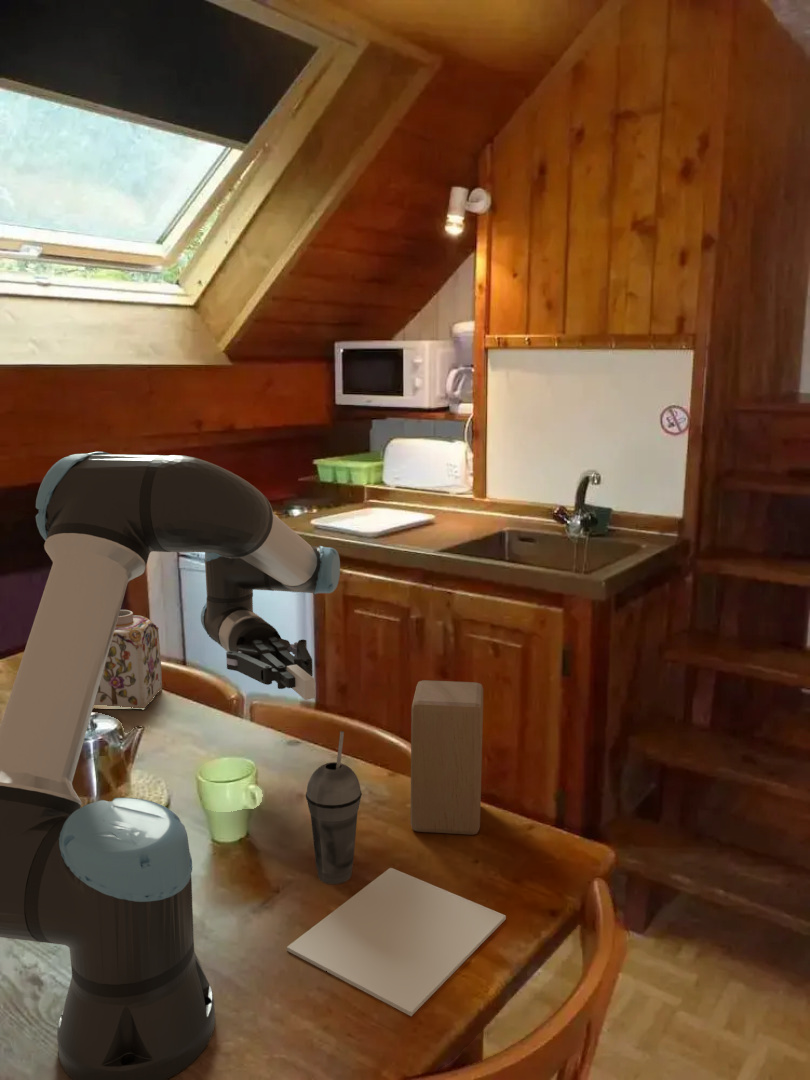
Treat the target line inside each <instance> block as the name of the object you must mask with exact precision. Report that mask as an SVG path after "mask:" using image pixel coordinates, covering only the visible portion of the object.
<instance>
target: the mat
mask: <svg viewBox="0 0 810 1080" xmlns="http://www.w3.org/2000/svg"><path fill="white" fill-rule="evenodd" d="M506 918H507V916H506V915H505V914H503V913H500V912H498V911H495V910H494V909H492V908H488V907H486V906H483V905H482V904H479V903H477V902H475V901H472V900H469V899H468V898H465V897H463V896H460V895H458V894H455V893H452V892H450V891H448V890H446V889H444V888H440V887H438V886H436V885H434V884H431V883H429V882H427V881H424V880H422V879H419V878H417V877H414V876H412V875H410V874H407V873H405V872H403V871H400V870H397V869H395V868H393V867H389V868H388V869H387V870H385V871H384V872H383V873H381V874H380V875H379V876H378V877H376V878H375V879H373V880H372V881H371V882H370V883H368V884H367V885H365V886H364V887H362V889H360V890H359V891H358V892H357V893H355V894H354V895H353V896H351V897H350V898H349V899H347V900H346V901H344V902H343V903H342V904H341V905H339V906H338V907H337V908H336V909H335V910H333V911H332V912H331V913H329V914H328V915H327V916H325V917H324V918H323V919H321V920H320V921H319V922H317V923H316V924H315V925H314V926H312V927H311V928H309V930H307V931H306V932H304V933H303V934H301V936H299V937H298V938H296V939H295V940H294V941H292V942H291V943H289V945H287V946H286V951H287V952H288V953H291V954H292V955H294V956H296V957H298V958H300V959H302V960H304V961H306V962H308V963H309V964H311V965H313V966H315V967H317V968H319V969H320V970H323V971H324V972H326V971H327V972H326V973H328V974H331V975H332V976H334V977H336V978H337V979H340V980H341V981H344V982H345V983H347V984H349V985H351V986H353V987H354V988H356V989H358V990H360V991H362V992H364V993H366V994H368V995H370V996H372V997H373V998H375V999H377V1000H379V1001H381V1002H383V1003H385V1004H387V1005H388V1006H391V1007H393V1008H395V1009H397V1010H398V1011H400V1012H402V1013H404V1014H406V1015H408V1016H410V1017H413V1015H414V1014H415V1013H416V1012H417V1011H418V1010H419V1009H420V1008H421V1007H422V1006H423V1005H424V1004H425V1003H426V1002H427V1001H428V1000H429V999H430V997H432V996H433V995H434V993H435V992H436V991H438V990H439V988H441V987H442V986H443V984H444V983H445V982H446V981H447V980H448V979H449V978H450V977H451V976H452V975H454V973H455V972H456V971H457V970H458V969H459V968H460V967H461V966H462V965H463V964H464V963H465V962H466V960H468V958H470V957H471V956H472V954H473V953H475V951H476V950H478V948H480V946H481V945H482V944H483V943H484V942H486V940H487V939H488V938H489V937H490V936H491V935H492V934H493V933H494V932H495V931H496V930H497V929H498V928H499V927H500V926H501V925H502V923H504V922H505V920H506Z"/></svg>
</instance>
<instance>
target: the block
mask: <svg viewBox="0 0 810 1080" xmlns="http://www.w3.org/2000/svg"><path fill="white" fill-rule="evenodd" d="M412 699H413V700H412V704H411V711H410V712H411V715H410V716H411V719H410V721H411V723H410V724H411V725H410V727H411V728H410V730H411V731H410V734H411V735H410V738H411V739H410V826H411V828H412V830H413V831H415V832H419V833H420V832H422V833H438V834H440V833H441V834H455V835H457V834H458V835H460V834H461V835H471V836H472V835H473V836H474V835H476V834H478V833H479V831H480V829H481V807H482V806H481V804H482V803H481V801H482V800H481V799H482V798H481V797H482V767H483V766H482V763H483V762H482V760H483V723H484V722H483V721H484V687H483V685H482V683H479V682H473V681H472V682H471V681H447V680H428V679H427V680H425V679H422V680H420V681H418V682H417V684H416V686H415V692H414V695H413V698H412Z"/></svg>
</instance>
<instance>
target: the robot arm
mask: <svg viewBox="0 0 810 1080" xmlns="http://www.w3.org/2000/svg"><path fill="white" fill-rule="evenodd" d="M41 481H42V482H41V483H40V486H39V489H38V491H37V495H36V498H35V499H36V500H35V508H36V509H37V510H38V513H36V515H35V522H36V527H37V530H38V531H39V534H40V536H41V537H42V539H43V540H44V541H45V542H44V544H43V547H44V551H45V552H46V553H47V555H48V557H49V558H50V560H51V562H52V565H51V567H50V568H51V569H50V570H49V574H48V578H47V580H46V582H45V586H44V590H43V593H42V596H41V599H40V602H39V605H38V609H37V612H36V613H35V616H34V620H33V624H32V625H31V630H30V633H29V636H28V639H27V642H26V645H25V649H24V651H23V654H22V657H21V661H20V664H19V667H18V669H17V673H16V676H15V678H14V683H13V685H12V688H11V692H10V694H9V698H8V700H7V703H6V707H5V710H4V713H3V716H2V719H1V723H0V938H4V939H6V938H7V939H13V940H19V941H20V940H21V941H28V942H29V941H30V942H38V943H45V944H46V943H47V944H53V945H62V946H66V947H68V948H69V955H70V965H71V966H70V969H71V978H70V983H69V987H68V990H67V995H66V997H65V998H66V999H65V1003H64V1007H63V1009H62V1011H61V1015H60V1018H59V1021H58V1023H57V1032H56V1034H57V1035H56V1037H57V1049H58V1060H59V1061H60V1064H61V1067H62V1069H63V1070H64V1072H65V1074H67V1075H68V1076H69V1078H71V1079H72V1080H168V1079H170V1078H171V1077H173V1076H175V1075H177V1074H179V1073H180V1072H181V1071H183V1070H184V1069H186V1068H187V1067H189V1066H190V1065H191V1064H192V1063H194V1062H195V1060H196V1059H198V1058H199V1056H200V1055H201V1054H202V1053H203V1051H204V1050H205V1049H206V1047H208V1044H209V1042H210V1041H211V1038H212V1036H213V1034H214V1029H215V1023H216V1013H215V997H214V993H213V989H212V987H211V985H210V983H209V980H208V979H207V975H206V974H205V972H204V970H203V967H202V965H201V963H200V960H199V959H198V956H197V954H196V952H195V941H194V939H195V937H194V916H193V915H194V912H193V911H194V909H193V885H192V872H193V858H192V856H191V855H192V854H191V852H190V851H191V850H190V845H189V844H190V843H189V837H188V832H187V829H186V827H185V825H184V824H183V823H182V821H181V818H180V817H179V816H178V815H177V814H176V813H174V812H173V810H171V809H170V808H168V807H166V806H165V805H162V804H160V803H158V802H156V801H152V800H149V799H143V798H137V797H136V798H135V797H113V799H112V800H111V801H110V800H109V801H108V800H104V799H100V800H97V801H93V802H90V803H87V804H85V805H83V806H82V803H83V802H82V800H81V799H80V797H79V796H78V794H77V793H76V791H75V789H74V786H73V780H74V777H75V773H76V769H77V766H78V764H79V759H80V755H81V752H82V749H83V748H82V747H83V744H84V741H85V739H86V733H87V731H88V726H89V723H90V720H91V715H92V712H93V710H94V709H93V706H94V702H95V699H96V695H97V691H98V688H99V684H100V681H101V677H102V673H103V670H104V666H105V663H106V659H107V656H108V652H109V648H110V645H111V641H112V638H113V634H114V630H115V627H116V623H117V620H118V616H119V613H120V610H122V609H121V608H122V604H123V601H124V597H125V594H126V591H127V586H128V583H129V582H130V581H132V580H134V579H136V578H137V577H140V576H142V575H143V574H144V573H145V570H146V569H147V564H148V560H149V557H150V554H151V553H152V552H161V553H204V559H203V560H204V568H205V569H204V571H205V584H206V585H205V587H206V603H205V604H204V606H203V608H202V610H201V613H200V622H201V625H202V627H203V629H204V630H205V632H206V634H207V635H208V637H210V639H211V640H212V641H214V642H215V643H217V644H218V645H219V646H220V647H222V648H223V650H224V651H226V655H225V656H226V659H225V660H226V670H230V671H234V672H235V671H236V672H238V673H240V674H243V675H245V676H246V677H249V678H250V679H253V680H255V681H257V682H259V683H261V684H263V685H266V686H267V685H268V686H269V685H272V684H273V682H275V683H277V689H278V690H284V689H286V688H287V689H292V690H294V692H296V694H298V695H299V696H300V697H301V698H302V699H303V700H305V701H307V700H311V699H312V700H313V699H315V698H316V678H314V676H313V673H314V672H313V658H312V656H311V654H310V652H309V651H308V649H307V647H308V646H307V640H306V639H300V640H298V641H295V642H294V643H290V641H289V640H288V639H283V638H282V637H281V635H280V633H279V632H278V630H277V629H276V628H275V626H273V625H271V624H270V623H269V622H267V621H266V620H264V618H262V617H261V616H259V614H257V613H255V612H254V607H253V606H254V601H253V598H254V597H253V596H254V590H255V591H272V592H274V591H275V592H292V593H293V592H294V593H307V594H313V595H318V594H332V593H333V592H334V591H336V589H337V588H338V585H339V581H340V577H341V576H340V574H341V561H340V555H339V552H338V550H336V548H333V547H329V546H328V547H326V546H322V545H318V546H314V545H313V546H312V545H311V544H309V542H307V541H306V540H305V539H304V538H303V537H301V536H300V535H299V534H298V533H297V532H296V531H294V530H293V529H292V528H291V527H290V526H289V525H288V524H286V523H285V522H284V521H283V520H282V519H280V518H279V517H278V516H277V515H276V514H275V513H274V512H273V508H272V505H271V503H270V501H269V500H268V498H267V497H266V496H265V494H263V492H261V491H260V490H259V489H258V488H257V487H255V486H254V485H252V484H251V483H250V482H249V481H247V480H245V479H244V478H242V477H241V476H239V475H237V474H235V473H233V472H232V471H230V470H228V469H225V468H223V467H221V466H219V465H217V464H214V463H212V462H209V461H206V460H203V459H200V458H197V457H193V456H187V455H177V454H170V455H165V454H163V455H161V454H117V453H116V454H114V453H113V454H112V453H110V452H109V453H108V452H107V451H106V452H105V451H94V452H89V453H74V454H70V455H68V456H65V457H63V458H61V459H59V460H57V462H55V463H54V464H52V466H51V467H50V468H49V469H48V471H47V472H46V474H45V475H44V477H43V479H42V480H41Z"/></svg>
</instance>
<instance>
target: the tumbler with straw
mask: <svg viewBox="0 0 810 1080" xmlns="http://www.w3.org/2000/svg"><path fill="white" fill-rule="evenodd" d="M344 734H345V732H344V731H341V730H340V731H339V739H338V749H337V758H336V761H334V762H333V761H332V762H327V763H324V764H322V765H321V766H319V767H317V768H316V769H315V770H314V772H313V773H312V774H311V775H310V776H311V777H310V778H309V780H308V783H307V786H306V791H305V799H306V801H307V806H308V810H309V814H310V822H311V830H312V831H311V832H312V841H313V850H314V861H315V867H316V872H317V878H318V879H319V880H320V881H319V882H322V883H323V884H328V885H340V884H343V883H345V882H347V881H349V880H350V879H351V877H352V873H353V872H352V870H353V865H354V860H355V858H354V857H355V844H356V834H357V825H358V824H357V823H358V822H357V821H358V813H359V812H358V811H359V809H360V804H361V798H362V795H363V794H362V790H361V785H360V781H359V778H358V776H357V774H356V773H355V771H354V770H353V769H352V768H350V767H349V766H347V765H346V764H344V763H341V762H342V753H343V744H344V736H345V735H344Z"/></svg>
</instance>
